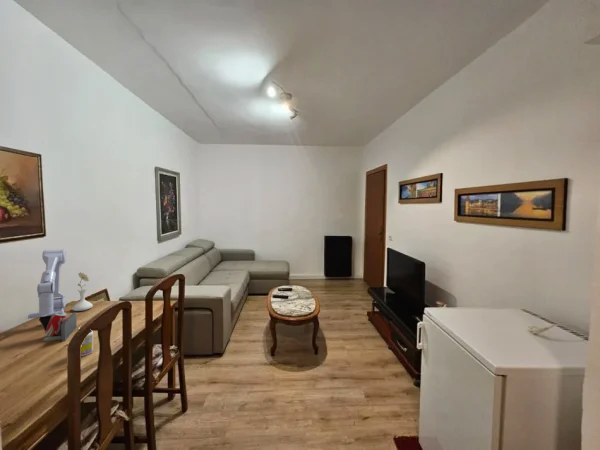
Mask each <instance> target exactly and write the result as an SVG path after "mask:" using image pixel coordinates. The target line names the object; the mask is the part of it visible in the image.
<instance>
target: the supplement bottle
mask: <svg viewBox="0 0 600 450" xmlns="http://www.w3.org/2000/svg"><path fill="white" fill-rule="evenodd" d="M80 327H81V326H79V327H78V330H79V329H80ZM91 331H92V332H91V333H89V334H88V335H87V337H86V338H85V340H84V342H83V344H82V347H81V356H80V357H84V356H87V355H91V354H92V353H93V352H94V331H93V330H91Z"/></svg>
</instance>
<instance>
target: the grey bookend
mask: <svg viewBox="0 0 600 450" xmlns="http://www.w3.org/2000/svg"><path fill="white" fill-rule="evenodd" d="M75 328H77V311H75V312H72V313H71V314H70V315H69V316H67V319H66V320H65V321H64V322H63V323H62V324H61V334H60V335H58V336H50V337H49V336H45V337H43V341H44V342H50V341H58V340H59V341H60V340H61V342H66V341H67V340H68V339H69V338H70V336H71V335H72V333H73V332H74V331H75V330H76V329H75ZM74 329H75V330H74ZM73 330H74V331H73ZM70 334H71V335H70ZM69 335H70V336H69Z"/></svg>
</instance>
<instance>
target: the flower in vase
mask: <svg viewBox="0 0 600 450" xmlns="http://www.w3.org/2000/svg"><path fill="white" fill-rule="evenodd" d="M78 276H79V278H80V282H79V283H78V284H77V286H79V287H80V288H79V289H77V291H78V292H79V295H80V297H79V301H78V302H76V303H75V304H73V306H71V307H72V308H71V310H72V311H75V312H81V311H88V310H89V309H91V308H93V306H94V305H93V303H91V302H90V301H88V300H86V299H85V295H86V291H87V289H88V288H83V287H85V286H86V284H84V285H81V283H82V280H83V281H84V282H89V281H90V280H89V279H90V278H89V277H88V274H85V273H84V272H81V271H80V272H78Z"/></svg>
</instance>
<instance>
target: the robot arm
mask: <svg viewBox="0 0 600 450" xmlns="http://www.w3.org/2000/svg"><path fill="white" fill-rule="evenodd" d="M66 253H67V251H66V250H65V249H48V250H47V249H44V250H43V251H42V255H41V256H42V260H43V263H44V264H45V265H46V266H45V271H43V272H42V274H41V277H40V283H38V284H37V287H36V292H37V298H38V312H35V313H29V314H28V315H27V319H35V318H39V319H38V321H39V322H40V324H41V325H42V327H43V331H46V328H47V325H48V323H49V320H50V318H51V316H52V315H54V312H55V314H62V315H63V314H64V312H65V310H64V308H65V307H66V302H67V301H66V295H65V294H64V293H62V292H60V289H61V288H60V286H61V268H62V265H63V264H65V263H66V260H67V259H66V257H67V254H66ZM56 311H58V312H56Z"/></svg>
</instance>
